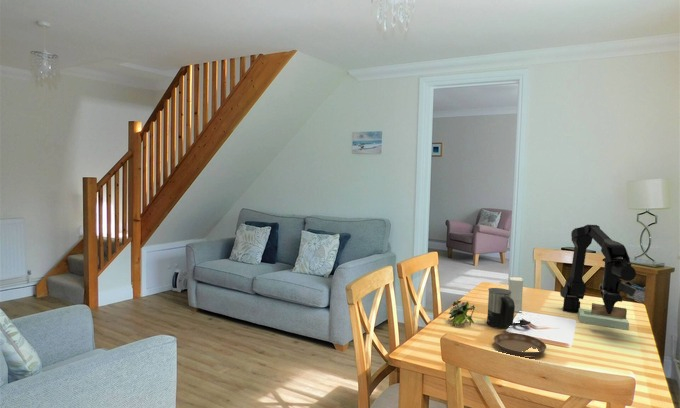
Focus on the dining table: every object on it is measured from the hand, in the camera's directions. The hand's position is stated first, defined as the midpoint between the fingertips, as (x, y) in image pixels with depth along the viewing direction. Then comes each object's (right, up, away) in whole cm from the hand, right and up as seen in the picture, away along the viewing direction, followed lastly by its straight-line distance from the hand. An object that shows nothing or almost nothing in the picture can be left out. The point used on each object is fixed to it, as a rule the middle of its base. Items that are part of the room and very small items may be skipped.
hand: (608, 312), depth 182 cm
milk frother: (-39, -7, +5) cm, 40 cm away
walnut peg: (0, -1, 0) cm, 1 cm away
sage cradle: (+6, -8, +15) cm, 18 cm away
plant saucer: (-44, -9, -20) cm, 49 cm away
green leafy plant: (-58, -6, +5) cm, 58 cm away
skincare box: (-28, -6, +28) cm, 39 cm away
